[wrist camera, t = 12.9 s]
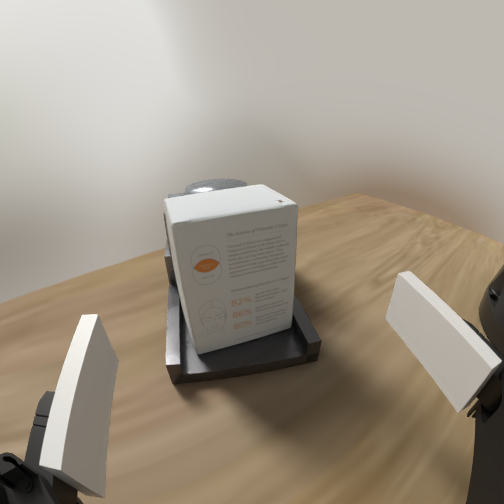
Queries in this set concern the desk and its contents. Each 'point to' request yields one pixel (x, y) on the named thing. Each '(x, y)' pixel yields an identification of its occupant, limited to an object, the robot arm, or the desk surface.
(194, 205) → the small box
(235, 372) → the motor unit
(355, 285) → the desk surface
